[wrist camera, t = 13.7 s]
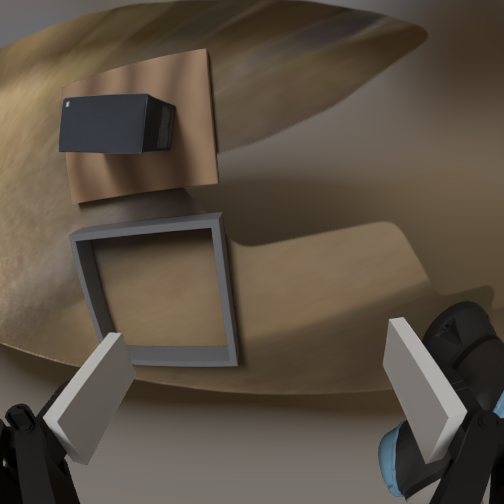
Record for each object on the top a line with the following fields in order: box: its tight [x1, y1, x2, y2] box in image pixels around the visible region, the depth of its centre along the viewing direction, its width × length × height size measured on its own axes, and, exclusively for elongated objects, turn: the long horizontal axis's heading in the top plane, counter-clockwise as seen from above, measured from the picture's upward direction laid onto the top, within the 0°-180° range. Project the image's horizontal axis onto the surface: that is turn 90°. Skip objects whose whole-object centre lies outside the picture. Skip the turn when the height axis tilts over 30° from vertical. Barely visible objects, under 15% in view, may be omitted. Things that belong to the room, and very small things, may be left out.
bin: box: [69, 212, 239, 367], centre depth 43 cm, size 22×22×4 cm
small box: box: [59, 93, 176, 154], centre depth 31 cm, size 11×6×10 cm, turn 83°
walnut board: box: [62, 49, 219, 204], centre depth 37 cm, size 22×18×2 cm
